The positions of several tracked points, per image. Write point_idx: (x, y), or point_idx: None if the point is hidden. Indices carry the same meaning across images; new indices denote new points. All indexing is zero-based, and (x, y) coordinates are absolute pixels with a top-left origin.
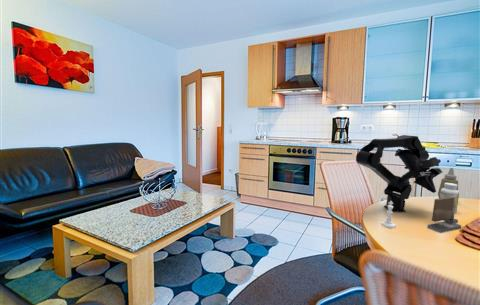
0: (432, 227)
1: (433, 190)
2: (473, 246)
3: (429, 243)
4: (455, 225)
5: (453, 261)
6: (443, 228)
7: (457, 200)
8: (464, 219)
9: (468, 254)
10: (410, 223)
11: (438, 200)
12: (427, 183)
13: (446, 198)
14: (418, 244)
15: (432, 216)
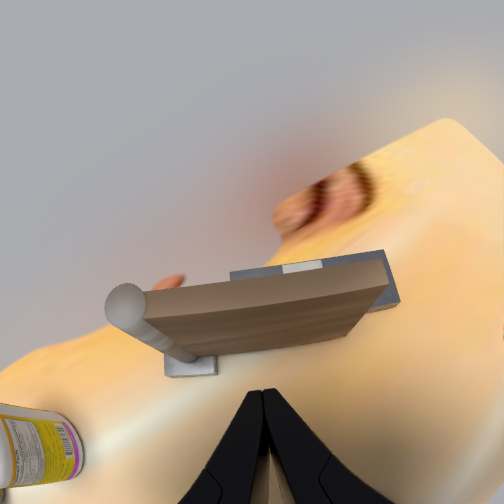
0: (392, 282)
1: (284, 403)
2: (347, 170)
3: (464, 206)
4: (261, 276)
5: (452, 146)
6: (360, 257)
7: (7, 404)
8: (94, 350)
9: (400, 151)
10: (435, 357)
11: (374, 260)
12: (347, 484)
13: (245, 286)
14: (490, 209)
15: (350, 328)
